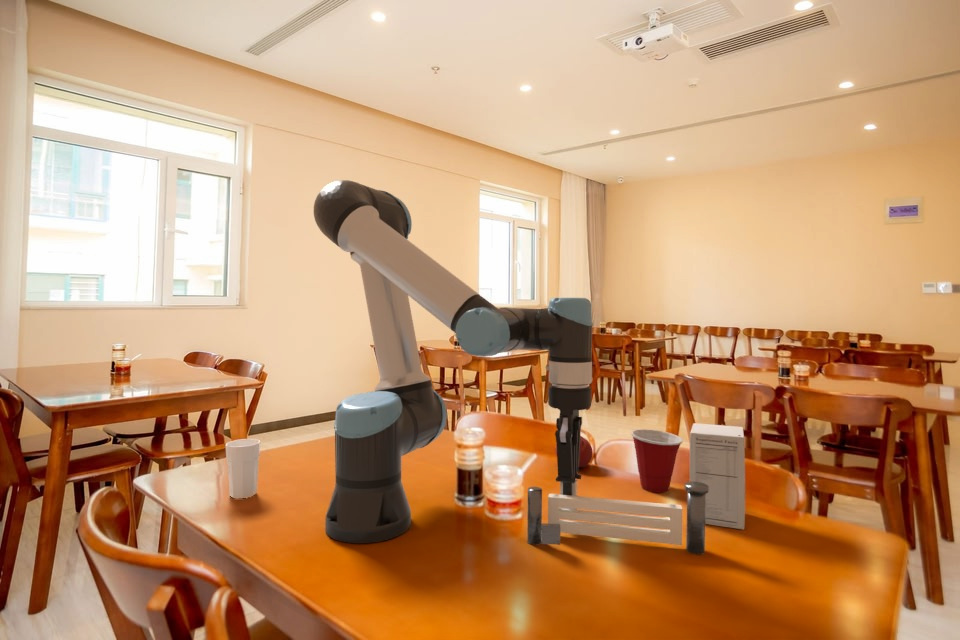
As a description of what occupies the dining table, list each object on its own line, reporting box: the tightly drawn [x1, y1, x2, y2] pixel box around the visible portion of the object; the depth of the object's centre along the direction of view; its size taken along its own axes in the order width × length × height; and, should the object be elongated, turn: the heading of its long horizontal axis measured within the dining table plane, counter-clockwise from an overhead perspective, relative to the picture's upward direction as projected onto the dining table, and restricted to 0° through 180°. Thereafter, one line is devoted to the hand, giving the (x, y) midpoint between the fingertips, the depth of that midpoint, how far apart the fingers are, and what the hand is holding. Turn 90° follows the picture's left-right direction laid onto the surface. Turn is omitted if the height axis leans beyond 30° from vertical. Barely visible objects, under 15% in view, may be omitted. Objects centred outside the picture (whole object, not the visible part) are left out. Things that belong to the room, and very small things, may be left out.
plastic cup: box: [630, 428, 684, 494], centre depth 117 cm, size 11×11×12 cm
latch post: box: [526, 486, 561, 546], centre depth 89 cm, size 5×4×9 cm
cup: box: [225, 438, 261, 499], centre depth 112 cm, size 7×7×11 cm
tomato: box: [554, 435, 593, 468], centre depth 133 cm, size 9×9×8 cm
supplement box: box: [689, 422, 746, 530], centre depth 101 cm, size 10×9×17 cm
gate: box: [547, 493, 683, 546], centre depth 91 cm, size 22×2×6 cm, turn 76°
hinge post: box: [684, 481, 709, 556], centre depth 87 cm, size 4×4×11 cm
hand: (568, 516), depth 95 cm, fingers closed
